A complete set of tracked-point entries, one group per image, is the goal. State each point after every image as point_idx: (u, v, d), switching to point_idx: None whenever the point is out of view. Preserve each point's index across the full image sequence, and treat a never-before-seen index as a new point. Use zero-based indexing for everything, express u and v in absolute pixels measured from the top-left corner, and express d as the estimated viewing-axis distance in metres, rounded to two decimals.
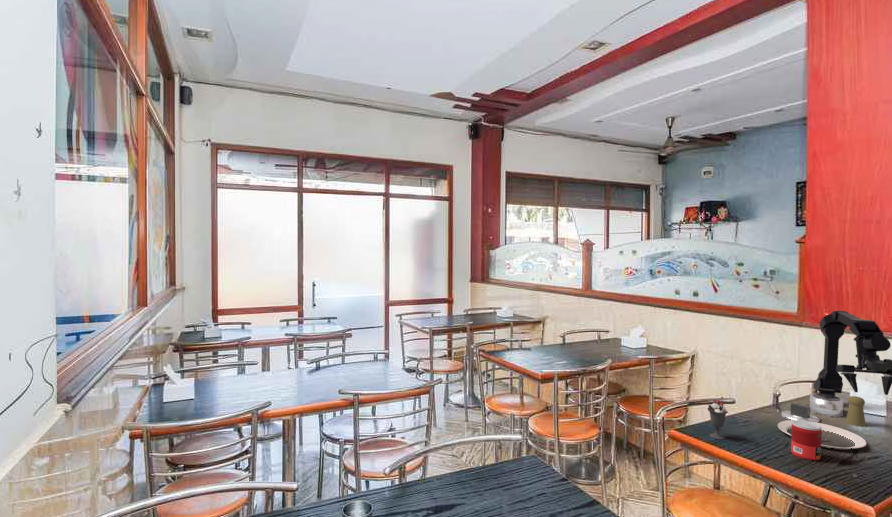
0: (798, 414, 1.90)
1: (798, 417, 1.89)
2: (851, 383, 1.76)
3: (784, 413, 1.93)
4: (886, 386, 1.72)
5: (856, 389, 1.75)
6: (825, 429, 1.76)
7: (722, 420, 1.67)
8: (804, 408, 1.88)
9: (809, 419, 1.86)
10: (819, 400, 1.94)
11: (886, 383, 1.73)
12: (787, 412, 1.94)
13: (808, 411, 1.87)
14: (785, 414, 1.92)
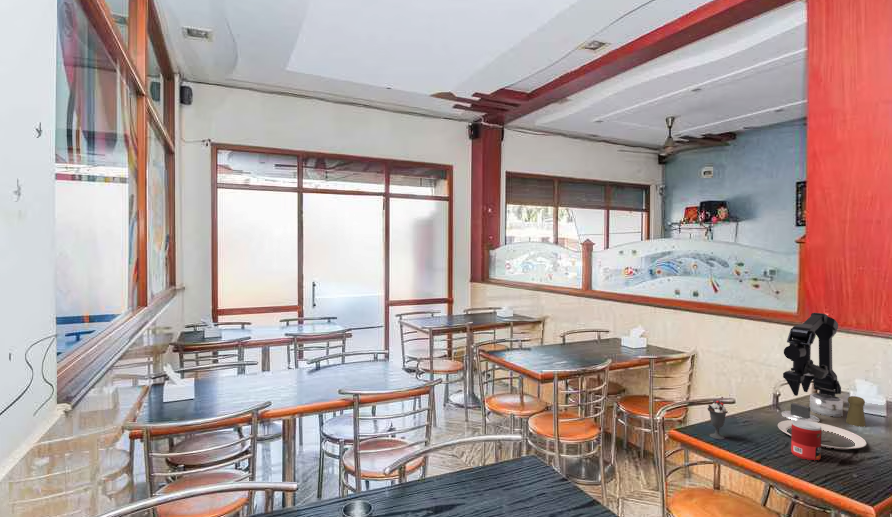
0: (798, 414, 1.90)
1: (798, 417, 1.89)
2: (793, 388, 1.87)
3: (784, 413, 1.93)
4: (807, 385, 1.92)
5: (797, 393, 1.87)
6: (825, 429, 1.76)
7: (722, 420, 1.67)
8: (804, 408, 1.88)
9: (809, 419, 1.86)
10: (819, 400, 1.94)
11: (807, 382, 1.92)
12: (787, 412, 1.94)
13: (808, 411, 1.87)
14: (785, 414, 1.92)
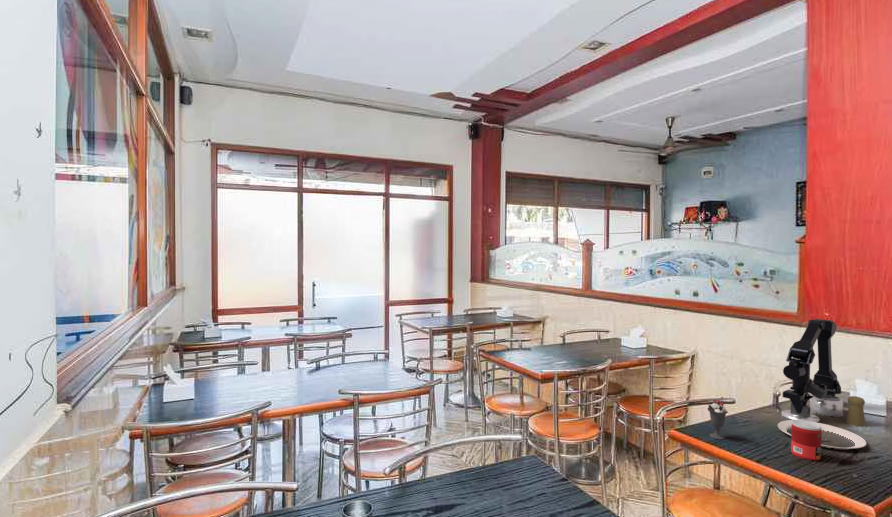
0: (798, 413, 1.90)
1: (798, 416, 1.89)
2: (796, 405, 1.89)
3: (784, 412, 1.93)
4: None
5: (800, 411, 1.89)
6: (825, 429, 1.76)
7: (722, 420, 1.67)
8: (804, 407, 1.88)
9: (809, 418, 1.86)
10: (819, 400, 1.94)
11: (803, 402, 1.91)
12: (787, 411, 1.94)
13: (808, 410, 1.87)
14: (785, 413, 1.92)
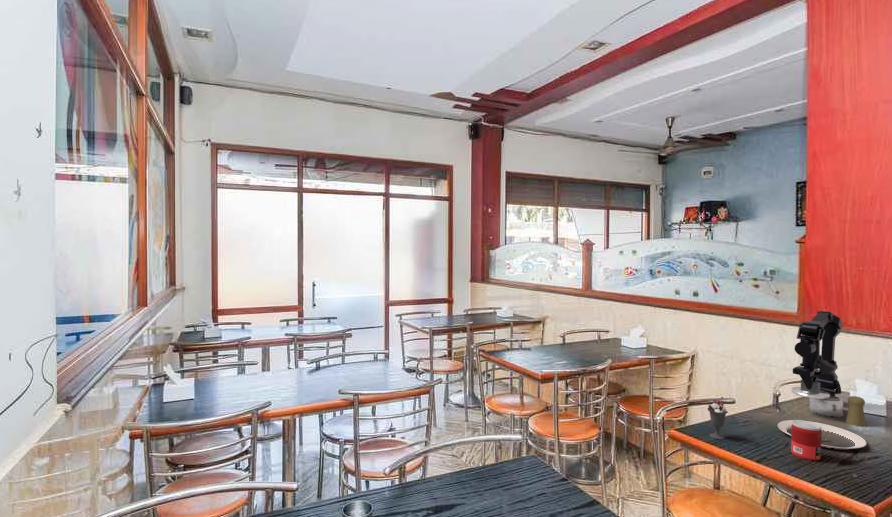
0: (808, 390, 1.92)
1: (809, 392, 1.91)
2: (806, 382, 1.91)
3: (794, 389, 1.95)
4: None
5: (810, 387, 1.91)
6: (825, 429, 1.76)
7: (722, 420, 1.67)
8: (814, 383, 1.90)
9: (819, 394, 1.89)
10: (819, 400, 1.94)
11: (813, 378, 1.93)
12: (797, 388, 1.96)
13: (818, 386, 1.90)
14: (795, 390, 1.94)
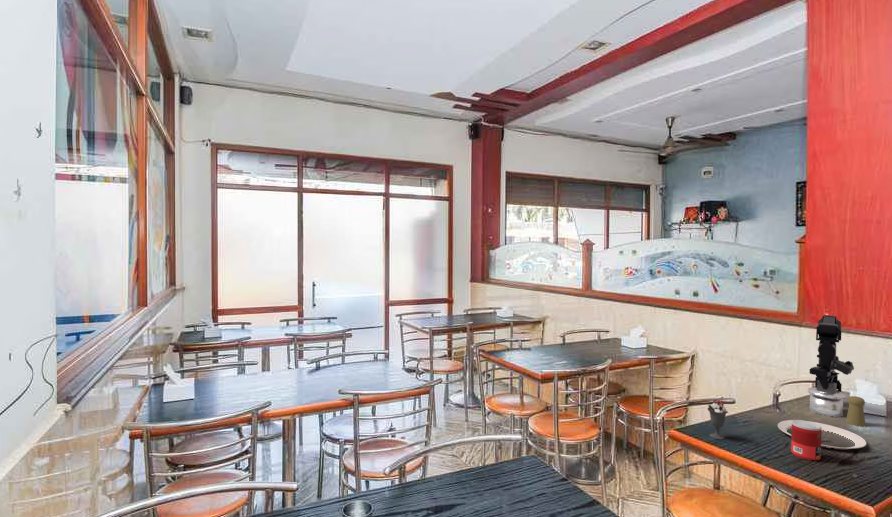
0: (824, 390, 1.96)
1: (825, 393, 1.95)
2: (823, 382, 1.95)
3: (810, 389, 1.99)
4: (829, 381, 1.96)
5: (826, 387, 1.95)
6: (825, 429, 1.76)
7: (722, 420, 1.67)
8: (831, 384, 1.94)
9: (836, 394, 1.92)
10: (819, 400, 1.94)
11: (829, 379, 1.97)
12: (813, 389, 2.00)
13: (834, 387, 1.93)
14: (812, 390, 1.98)
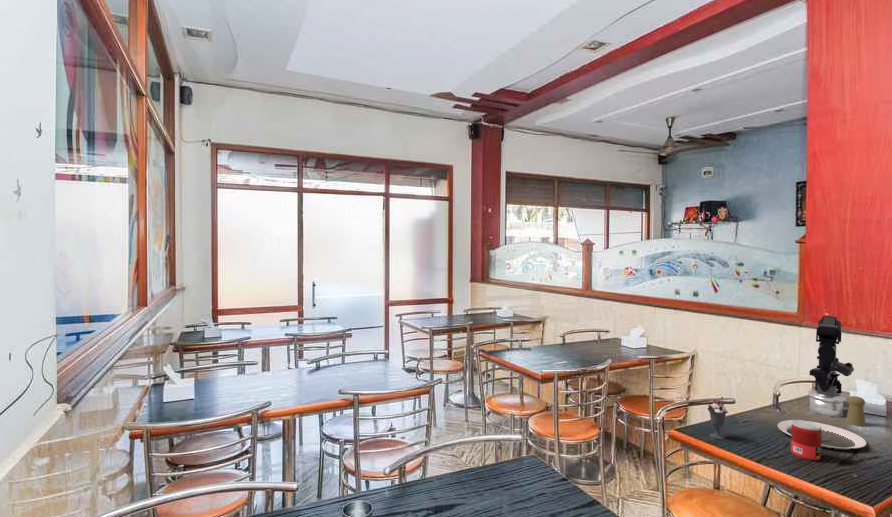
0: (824, 393, 1.96)
1: (825, 396, 1.95)
2: (822, 384, 1.95)
3: (810, 392, 1.99)
4: (831, 382, 1.97)
5: (825, 389, 1.94)
6: (825, 429, 1.76)
7: (722, 420, 1.67)
8: (830, 387, 1.94)
9: (836, 398, 1.92)
10: (819, 400, 1.94)
11: (830, 380, 1.97)
12: (813, 392, 2.00)
13: (834, 390, 1.93)
14: (812, 393, 1.98)
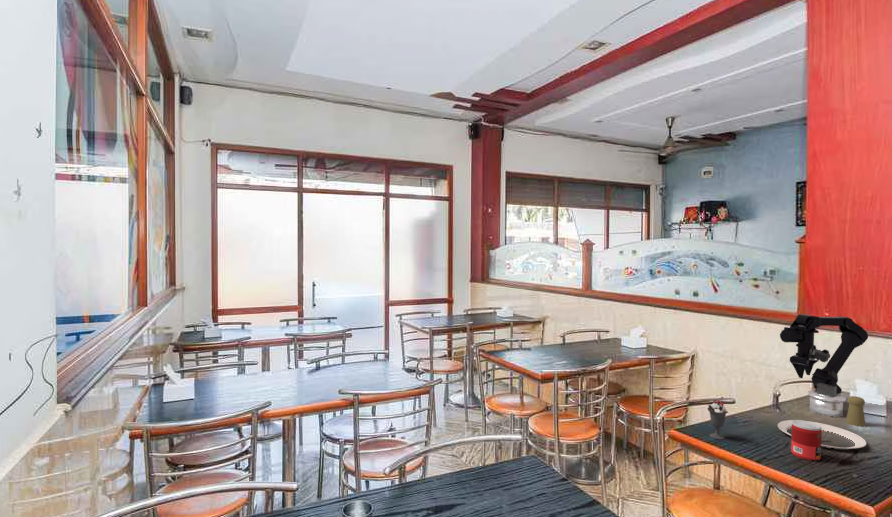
0: (824, 393, 1.96)
1: (825, 396, 1.95)
2: (799, 371, 2.02)
3: (810, 392, 1.99)
4: (810, 368, 2.07)
5: (802, 376, 2.02)
6: (825, 429, 1.76)
7: (722, 420, 1.67)
8: (830, 387, 1.94)
9: (836, 398, 1.92)
10: (819, 400, 1.94)
11: (809, 366, 2.08)
12: (813, 392, 2.00)
13: (834, 390, 1.93)
14: (812, 393, 1.98)
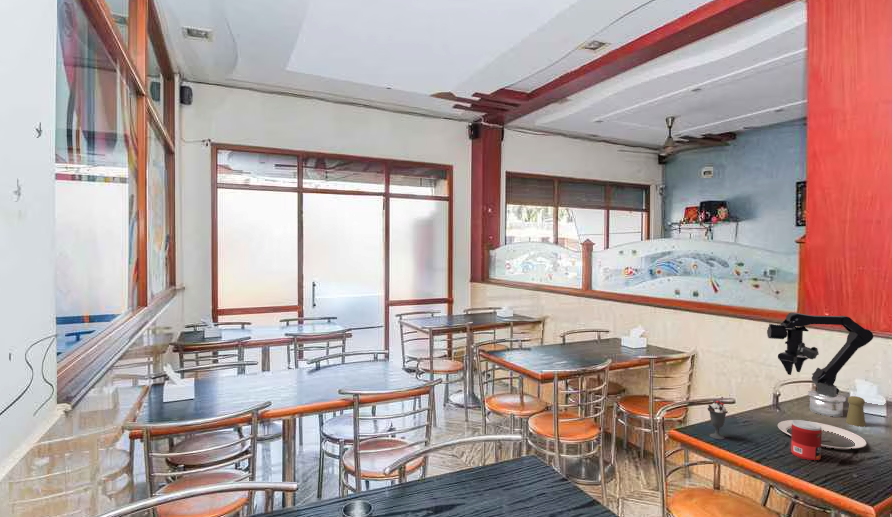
0: (824, 393, 1.96)
1: (825, 396, 1.95)
2: (787, 367, 2.08)
3: (810, 392, 1.99)
4: (800, 365, 2.12)
5: (791, 372, 2.08)
6: (825, 429, 1.76)
7: (722, 420, 1.67)
8: (830, 387, 1.94)
9: (836, 398, 1.92)
10: (819, 400, 1.94)
11: (799, 363, 2.13)
12: (813, 392, 2.00)
13: (834, 390, 1.93)
14: (812, 393, 1.98)
